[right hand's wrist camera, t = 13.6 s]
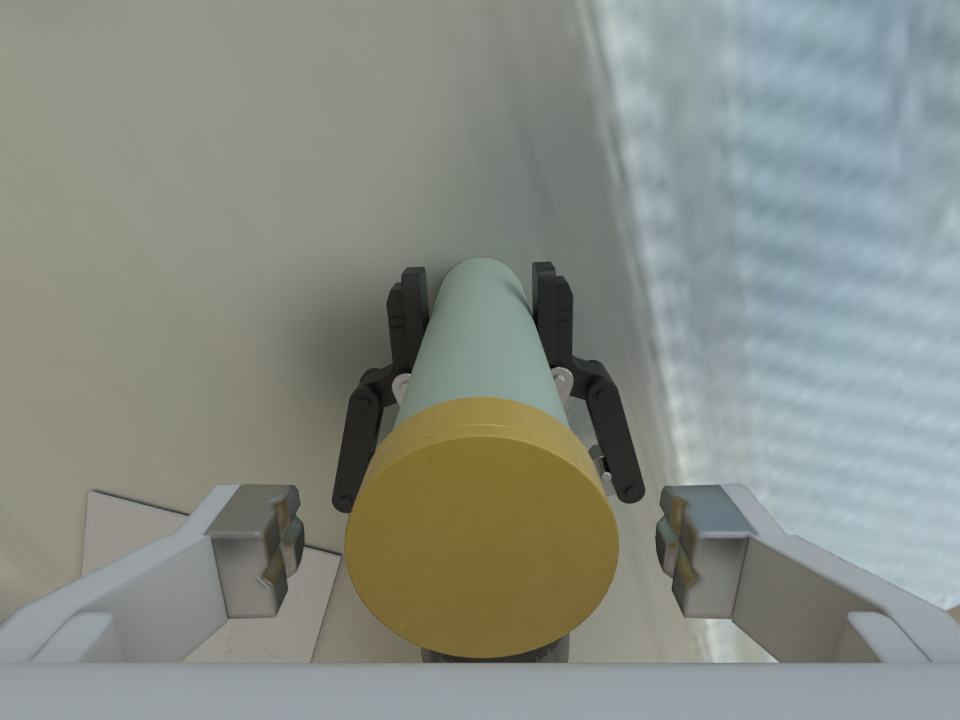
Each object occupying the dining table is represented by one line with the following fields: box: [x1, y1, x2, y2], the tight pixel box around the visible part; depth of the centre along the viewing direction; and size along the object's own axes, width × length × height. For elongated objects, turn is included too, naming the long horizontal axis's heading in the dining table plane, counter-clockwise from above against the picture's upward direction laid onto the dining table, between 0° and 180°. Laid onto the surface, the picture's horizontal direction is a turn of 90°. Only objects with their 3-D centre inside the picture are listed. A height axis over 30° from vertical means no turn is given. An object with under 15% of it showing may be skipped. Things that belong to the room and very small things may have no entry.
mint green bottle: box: [392, 258, 571, 431], centre depth 18 cm, size 4×4×18 cm
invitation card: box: [81, 491, 341, 663], centre depth 35 cm, size 21×1×15 cm
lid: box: [344, 397, 619, 658], centre depth 10 cm, size 5×5×2 cm
